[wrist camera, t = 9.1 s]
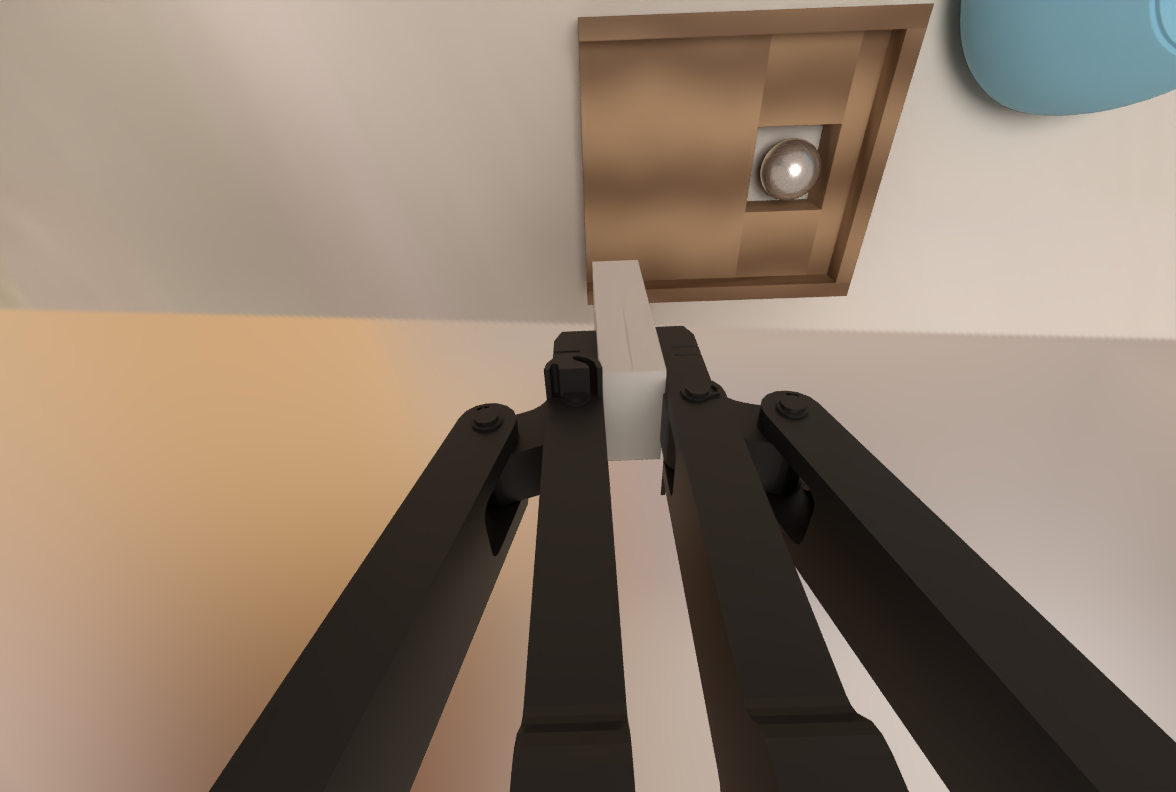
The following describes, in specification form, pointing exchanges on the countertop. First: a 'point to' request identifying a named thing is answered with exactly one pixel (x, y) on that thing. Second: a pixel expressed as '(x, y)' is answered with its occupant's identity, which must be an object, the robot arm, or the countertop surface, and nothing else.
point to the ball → (790, 169)
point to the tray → (738, 143)
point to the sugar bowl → (1070, 52)
